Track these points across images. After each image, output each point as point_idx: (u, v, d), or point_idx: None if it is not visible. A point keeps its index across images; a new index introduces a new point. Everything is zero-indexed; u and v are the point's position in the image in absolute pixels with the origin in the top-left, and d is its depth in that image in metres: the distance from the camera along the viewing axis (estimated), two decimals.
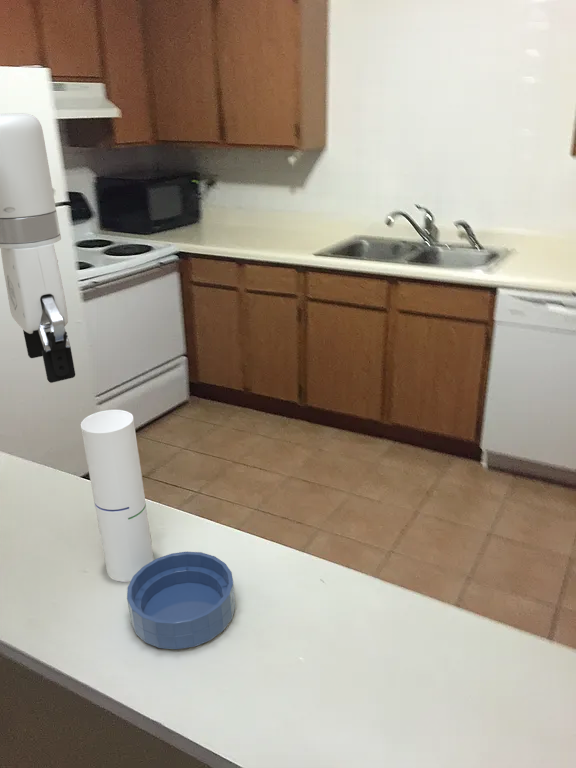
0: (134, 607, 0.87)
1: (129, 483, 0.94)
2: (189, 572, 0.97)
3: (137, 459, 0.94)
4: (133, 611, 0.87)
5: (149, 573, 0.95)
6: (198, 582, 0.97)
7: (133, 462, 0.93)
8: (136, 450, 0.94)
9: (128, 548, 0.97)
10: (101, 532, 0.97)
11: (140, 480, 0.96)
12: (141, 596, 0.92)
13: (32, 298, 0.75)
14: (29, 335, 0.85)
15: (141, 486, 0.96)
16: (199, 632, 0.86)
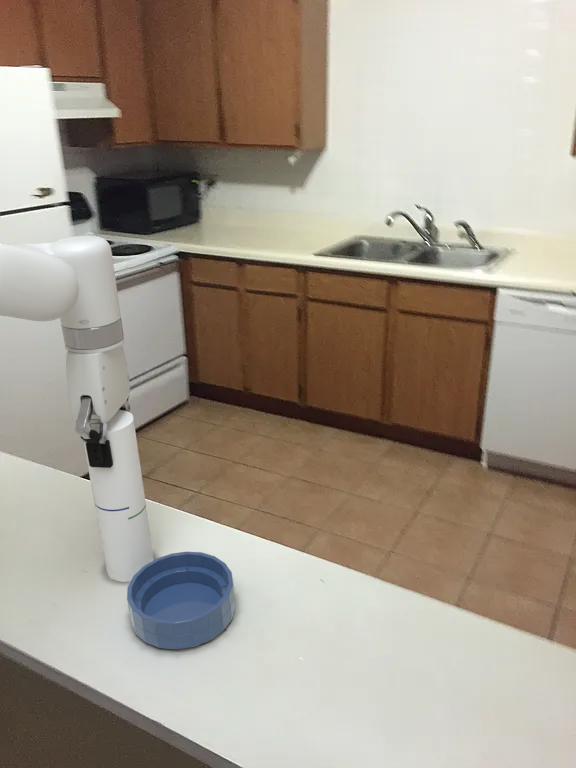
0: (134, 607, 0.87)
1: (129, 483, 0.94)
2: (189, 572, 0.97)
3: (137, 459, 0.94)
4: (133, 611, 0.87)
5: (149, 573, 0.95)
6: (198, 582, 0.97)
7: (133, 462, 0.93)
8: (136, 450, 0.94)
9: (128, 548, 0.97)
10: (101, 532, 0.97)
11: (140, 480, 0.96)
12: (141, 596, 0.92)
13: (74, 396, 0.86)
14: None
15: (141, 486, 0.96)
16: (199, 632, 0.86)
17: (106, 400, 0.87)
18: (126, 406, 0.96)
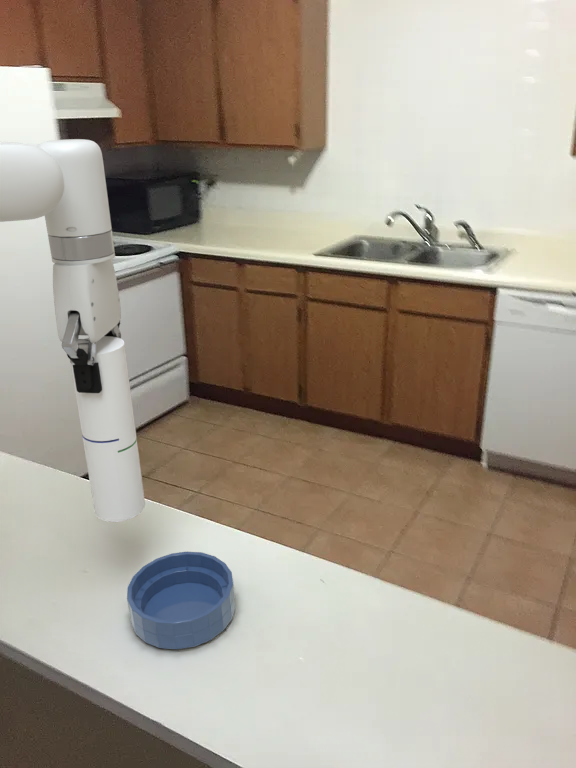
0: (134, 607, 0.87)
1: (119, 412, 0.88)
2: (189, 572, 0.97)
3: (128, 388, 0.89)
4: (133, 611, 0.87)
5: (149, 573, 0.95)
6: (198, 582, 0.97)
7: (124, 390, 0.88)
8: (127, 378, 0.89)
9: (117, 484, 0.91)
10: (89, 467, 0.92)
11: (131, 411, 0.90)
12: (141, 596, 0.92)
13: (61, 311, 0.80)
14: None
15: (132, 418, 0.91)
16: (199, 632, 0.86)
17: (95, 317, 0.81)
18: (117, 332, 0.90)
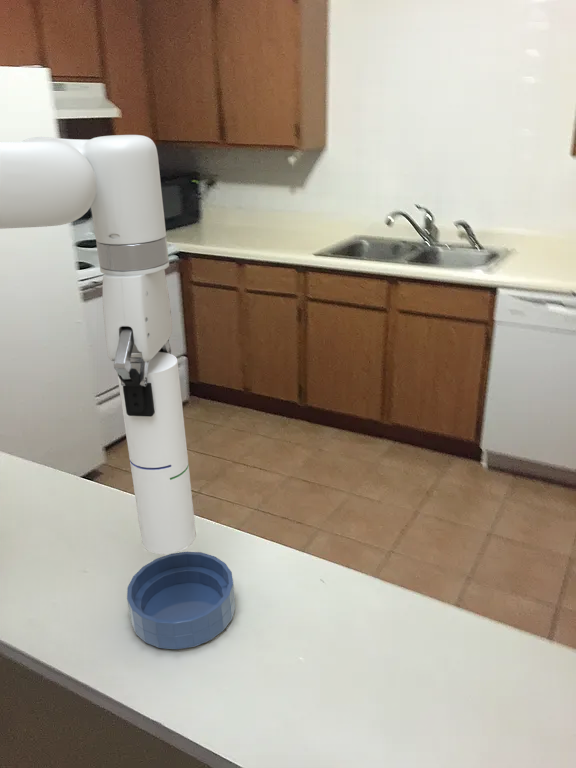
0: (134, 607, 0.87)
1: (172, 436, 0.80)
2: (189, 572, 0.97)
3: (181, 409, 0.81)
4: (133, 611, 0.87)
5: (149, 573, 0.95)
6: (198, 582, 0.97)
7: (177, 412, 0.80)
8: (180, 398, 0.80)
9: (168, 514, 0.83)
10: (137, 495, 0.84)
11: (183, 434, 0.82)
12: (141, 596, 0.92)
13: (111, 327, 0.72)
14: None
15: (184, 441, 0.83)
16: (199, 632, 0.86)
17: (149, 333, 0.73)
18: (167, 348, 0.82)
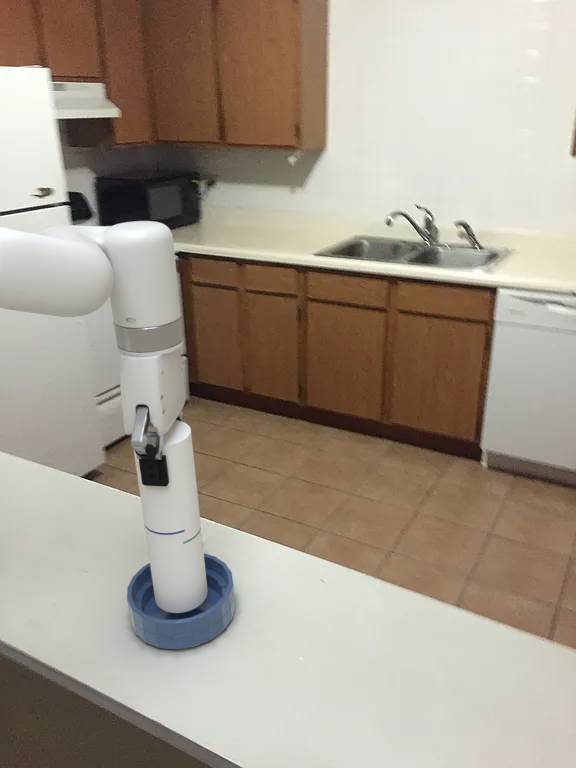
0: (134, 607, 0.87)
1: (185, 503, 0.82)
2: None
3: (194, 476, 0.83)
4: (133, 611, 0.87)
5: (149, 573, 0.95)
6: None
7: (190, 479, 0.82)
8: (193, 466, 0.83)
9: (181, 576, 0.86)
10: (151, 557, 0.86)
11: (196, 499, 0.85)
12: (141, 596, 0.92)
13: (128, 405, 0.75)
14: None
15: (197, 506, 0.85)
16: (199, 632, 0.86)
17: (164, 410, 0.76)
18: (181, 416, 0.85)
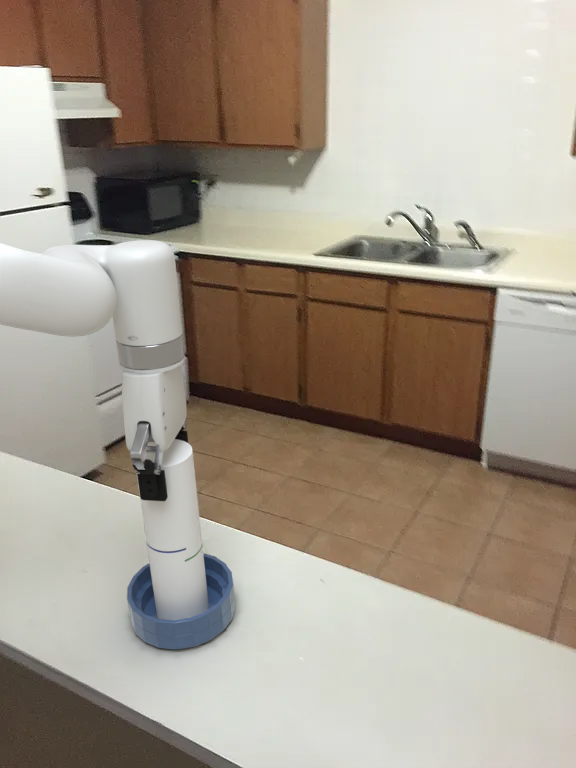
0: (134, 607, 0.87)
1: (187, 522, 0.84)
2: None
3: (195, 495, 0.84)
4: (133, 611, 0.87)
5: (149, 573, 0.95)
6: None
7: (192, 499, 0.83)
8: (195, 485, 0.84)
9: (183, 593, 0.87)
10: (153, 575, 0.87)
11: (198, 517, 0.86)
12: (141, 596, 0.92)
13: (130, 422, 0.75)
14: None
15: (198, 524, 0.86)
16: (199, 632, 0.86)
17: (166, 426, 0.76)
18: (183, 424, 0.86)
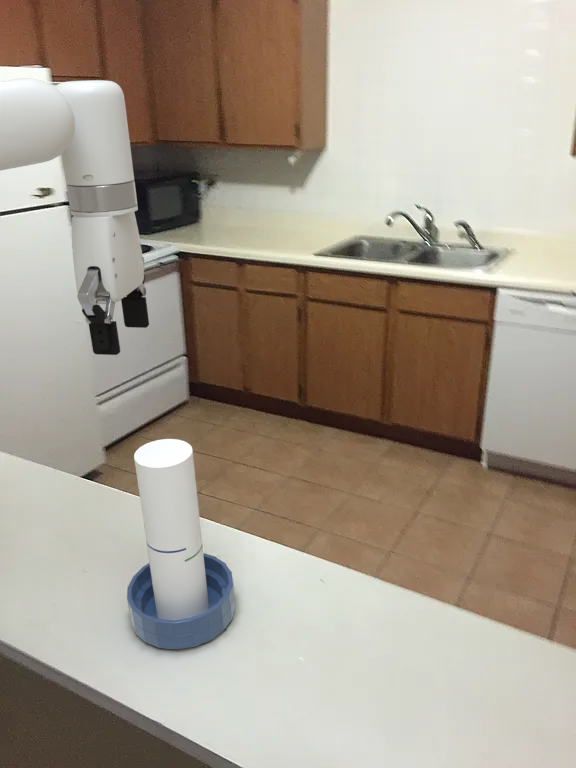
0: (134, 607, 0.87)
1: (187, 522, 0.84)
2: None
3: (195, 495, 0.84)
4: (133, 611, 0.87)
5: (149, 573, 0.95)
6: None
7: (192, 499, 0.83)
8: (195, 485, 0.84)
9: (183, 593, 0.87)
10: (153, 575, 0.87)
11: (198, 517, 0.86)
12: (141, 596, 0.92)
13: (80, 267, 0.75)
14: (125, 304, 0.86)
15: (198, 524, 0.86)
16: (199, 632, 0.86)
17: (117, 274, 0.76)
18: (141, 289, 0.85)
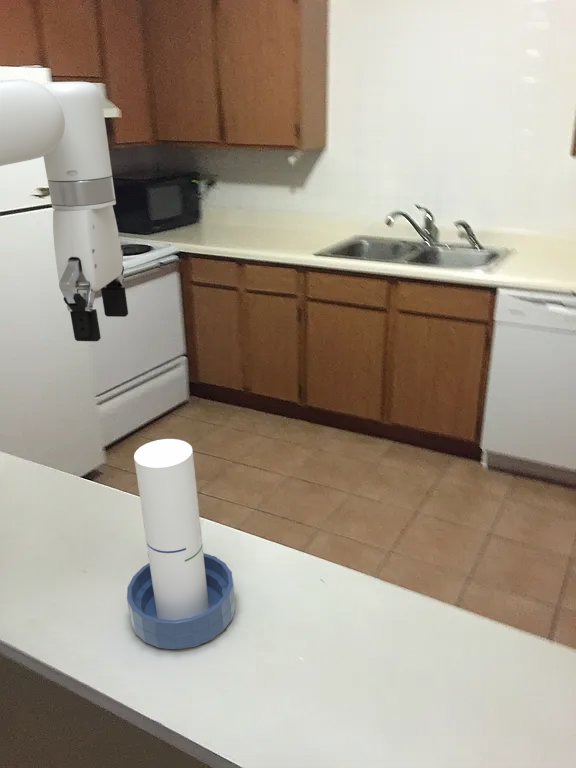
0: (134, 607, 0.87)
1: (187, 522, 0.84)
2: None
3: (195, 495, 0.84)
4: (133, 611, 0.87)
5: (149, 573, 0.95)
6: None
7: (192, 499, 0.83)
8: (195, 485, 0.84)
9: (183, 593, 0.87)
10: (153, 575, 0.87)
11: (198, 517, 0.86)
12: (141, 596, 0.92)
13: (61, 258, 0.79)
14: (104, 294, 0.91)
15: (198, 524, 0.86)
16: (199, 632, 0.86)
17: (96, 264, 0.80)
18: (120, 280, 0.90)
